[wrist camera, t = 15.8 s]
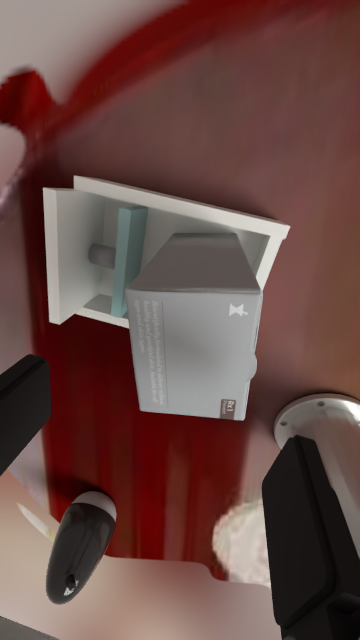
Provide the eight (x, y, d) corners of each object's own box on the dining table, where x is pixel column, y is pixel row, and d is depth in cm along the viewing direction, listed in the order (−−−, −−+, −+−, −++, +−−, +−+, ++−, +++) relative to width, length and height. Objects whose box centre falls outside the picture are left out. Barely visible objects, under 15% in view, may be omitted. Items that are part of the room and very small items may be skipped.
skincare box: (173, 231, 25) (104, 276, 11) (246, 232, 24) (271, 283, 10) (175, 309, 29) (125, 415, 15) (238, 312, 28) (248, 431, 14)
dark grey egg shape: (132, 502, 51) (97, 612, 37) (108, 518, 55) (69, 621, 42) (90, 476, 49) (38, 581, 36) (69, 495, 54) (15, 594, 40)
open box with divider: (279, 220, 24) (303, 233, 16) (237, 334, 30) (240, 384, 22) (101, 179, 25) (42, 171, 17) (95, 296, 31) (49, 331, 23)
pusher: (148, 208, 24) (131, 210, 20) (136, 300, 29) (120, 318, 25) (107, 198, 25) (82, 198, 20) (101, 291, 29) (80, 307, 25)
